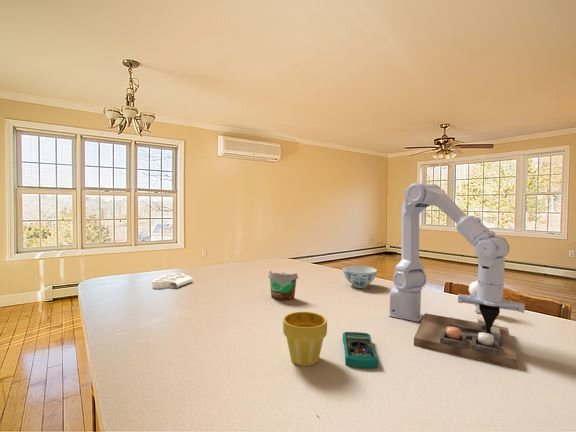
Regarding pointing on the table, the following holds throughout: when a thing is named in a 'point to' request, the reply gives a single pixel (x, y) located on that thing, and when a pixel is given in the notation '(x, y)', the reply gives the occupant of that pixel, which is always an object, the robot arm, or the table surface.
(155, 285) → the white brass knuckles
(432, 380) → the table surface
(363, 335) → the digital multimeter
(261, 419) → the table surface
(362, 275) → the chinaware
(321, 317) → the plant pot
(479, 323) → the block
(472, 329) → the brown flat wooden tray
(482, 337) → the cream egg shape
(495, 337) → the light grey small block
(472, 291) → the lightbulb
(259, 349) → the table surface
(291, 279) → the food container
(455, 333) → the peach egg shape
